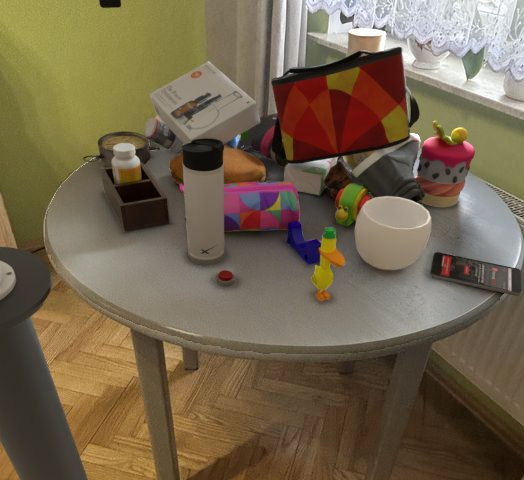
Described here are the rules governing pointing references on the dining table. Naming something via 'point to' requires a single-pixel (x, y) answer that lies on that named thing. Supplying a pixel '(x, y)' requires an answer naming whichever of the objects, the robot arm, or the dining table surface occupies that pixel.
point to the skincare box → (205, 106)
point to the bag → (343, 107)
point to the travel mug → (204, 199)
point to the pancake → (228, 167)
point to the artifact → (337, 179)
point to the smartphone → (476, 273)
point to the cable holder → (303, 244)
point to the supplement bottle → (125, 164)
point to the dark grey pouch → (256, 131)
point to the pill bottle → (162, 135)
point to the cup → (391, 232)
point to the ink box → (309, 175)
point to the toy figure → (327, 263)
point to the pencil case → (259, 206)
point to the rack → (136, 201)
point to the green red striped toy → (350, 203)
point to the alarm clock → (115, 138)
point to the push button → (225, 278)
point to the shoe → (268, 145)
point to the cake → (444, 166)
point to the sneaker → (392, 171)
